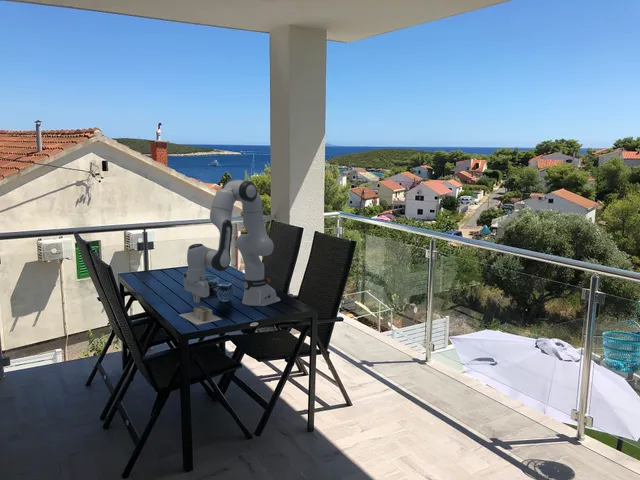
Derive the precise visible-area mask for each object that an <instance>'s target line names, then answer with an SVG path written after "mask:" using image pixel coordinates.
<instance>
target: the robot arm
mask: <svg viewBox="0 0 640 480" xmlns="http://www.w3.org/2000/svg"><path fill="white" fill-rule="evenodd" d="M236 201H238V202H241V205H242V207H241V208H242V223H243V228H245V229H246V230H247V233H245V234H244V233H243V234H241V235H239V236H238V237H237V239H236V241H235V247H236V248H237V250H238V251H239V253H240V254H241V257H242V260H243V264H244V265H243V266H244V278H243V287H244V290H243V291H244V292H243V296H242V300H241V303H242V304H243V305H246V306H252V307H253V306H255V307H256V306H257V307H265V306H268V305H272V304H275V303H278V302H280V301H281V298H280V297H279V296H277V292H276V289H274V288H273V287H272V286H270V284H268V283H270V282H271V279H270V278H268V277H267V278H265V264H264V262H263V261H262V260H261V258H260V257H266V256H270V255H272V253H273V252H274V246H275V245H274V242H273V240H272V239H271V238H270V237H269V235H268V232H267V231H266V227H265V225H264V216H263V213H264V212H263V204H262V203H263V202H262V199H261V195H260V193H259V192H258V189H257V187H256V184H255V183H253V182H252V181H249V180H244V179H243V180H242V179H235V180H234V179H233V180H232V179H231V180H227V181H225V182H224V183H223V184H222V187H221V188H219V189H218V190H217V191H216V192H215V195H214V198H213V199H212V204H211V208H210V212H209V220H210V221H211V223H212V224H213V225H214V226H215V227H216V228H217V230H218V232H219V240H218V247H217V249H214V248H210V247H207V246H206V245H204V244H203V243H194V244H190V245H189V246H188V248H187V250H186V251H187V252H186V263H187V270H186V271H187V272H183V274H182V277H183V288H184V291H187V292H189V293H191V294H192V297H193V302H194V303H197V304H198V303H200V302H201V298H207V297H208V298H209V296H210V287H209V283H208V281H207V279H206V268H209V269H213V270H215V271H217V272H224V271H225V270H227V269H228V268H229V267H230V265H231V263H232V262H231V260H232V258H231V246H232V238H233V223H232V217H233V216H232V215H233V210H234V204H236Z"/></svg>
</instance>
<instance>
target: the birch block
mask: <svg viewBox="0 0 640 480" xmlns="http://www.w3.org/2000/svg"><path fill="white" fill-rule="evenodd" d="M193 312H194V317H195V318H197V319H199V320H201V321H203V322H204V321H209V320H212V314H213V309H211V308H208V307H206V306H204V305H199V306H194V307H193Z"/></svg>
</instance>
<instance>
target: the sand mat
mask: <svg viewBox="0 0 640 480" xmlns="http://www.w3.org/2000/svg"><path fill="white" fill-rule="evenodd" d="M179 317H182V318H184V319H185V320H187V321H189V322H191V323H193V324H195V325H197V326H199V325H203V324H208V323H211V322H217V321H220V320H223V318H220V317H219V316H217V315H215V314H213V313H212V320H209V321H204V322H203V321H201V320H199V319H197V318H195V317H194V311H190V312H185V313H181V314H179Z"/></svg>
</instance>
